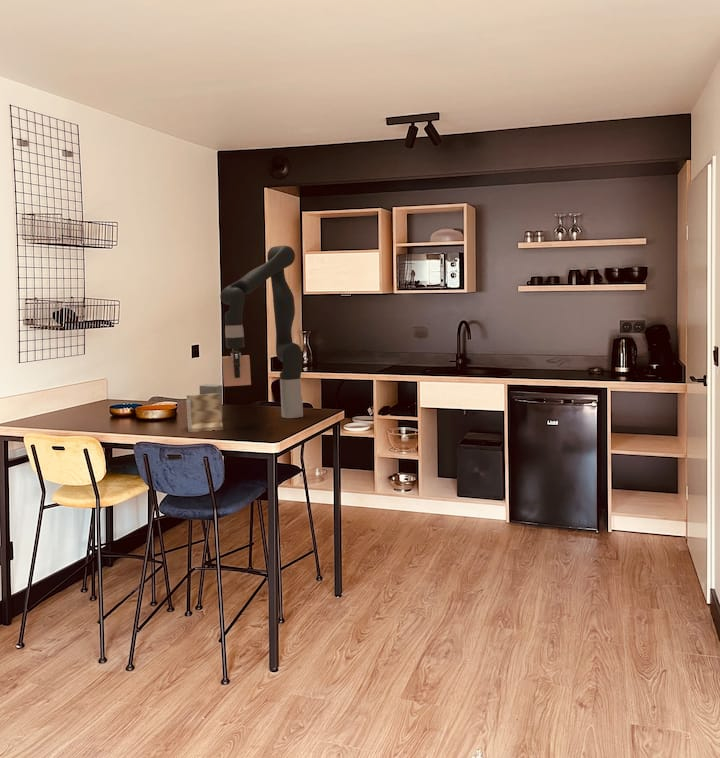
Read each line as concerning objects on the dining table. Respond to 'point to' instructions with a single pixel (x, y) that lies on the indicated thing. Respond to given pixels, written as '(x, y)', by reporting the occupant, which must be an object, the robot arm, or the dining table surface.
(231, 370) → the terracotta book
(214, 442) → the dining table surface
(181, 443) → the dining table surface
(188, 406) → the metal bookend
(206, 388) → the skincare box
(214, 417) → the plywood shelf
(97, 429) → the dining table surface
